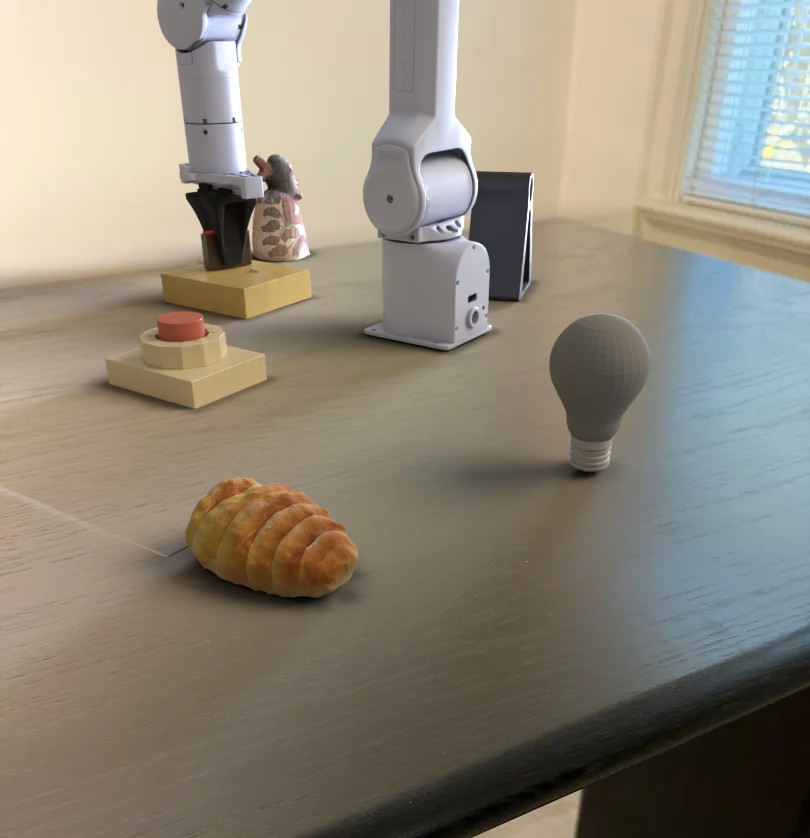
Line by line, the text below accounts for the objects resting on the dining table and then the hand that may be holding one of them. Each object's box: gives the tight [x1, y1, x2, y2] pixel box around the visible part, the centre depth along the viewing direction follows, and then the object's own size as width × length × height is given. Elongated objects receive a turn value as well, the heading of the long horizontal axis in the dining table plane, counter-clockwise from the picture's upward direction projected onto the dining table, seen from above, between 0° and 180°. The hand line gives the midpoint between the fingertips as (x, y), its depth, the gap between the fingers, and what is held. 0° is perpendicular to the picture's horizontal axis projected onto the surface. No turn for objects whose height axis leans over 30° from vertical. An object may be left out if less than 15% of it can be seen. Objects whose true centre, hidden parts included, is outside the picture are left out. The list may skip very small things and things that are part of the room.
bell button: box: [155, 310, 206, 342], centre depth 70 cm, size 4×4×2 cm
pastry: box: [184, 476, 359, 598], centre depth 46 cm, size 9×7×4 cm
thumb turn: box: [200, 229, 253, 271], centre depth 94 cm, size 5×1×4 cm, turn 127°
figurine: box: [251, 153, 311, 262], centre depth 111 cm, size 7×7×12 cm
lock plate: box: [160, 259, 312, 320], centre depth 94 cm, size 13×10×3 cm
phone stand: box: [468, 170, 535, 302], centre depth 95 cm, size 9×6×12 cm, turn 164°
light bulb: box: [548, 312, 652, 473], centre depth 55 cm, size 6×6×10 cm
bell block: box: [104, 322, 268, 410], centre depth 71 cm, size 10×8×4 cm
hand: (228, 262), depth 95 cm, fingers closed on thumb turn
